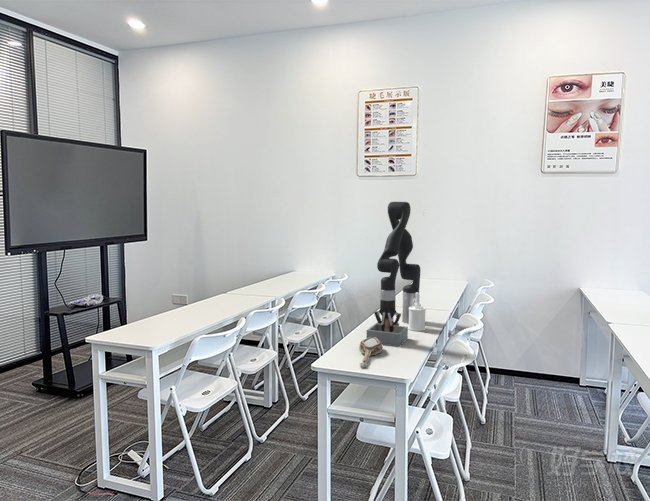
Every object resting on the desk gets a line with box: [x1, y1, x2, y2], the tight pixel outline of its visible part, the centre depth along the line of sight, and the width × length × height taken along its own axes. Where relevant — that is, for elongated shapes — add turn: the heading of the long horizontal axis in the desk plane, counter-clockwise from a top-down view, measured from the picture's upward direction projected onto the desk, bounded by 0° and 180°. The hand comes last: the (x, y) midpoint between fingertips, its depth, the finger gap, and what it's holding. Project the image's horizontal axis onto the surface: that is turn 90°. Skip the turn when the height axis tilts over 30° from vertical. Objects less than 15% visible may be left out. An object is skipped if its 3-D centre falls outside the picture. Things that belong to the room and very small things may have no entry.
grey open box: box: [366, 322, 409, 347], centre depth 241 cm, size 14×17×6 cm
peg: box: [384, 318, 390, 332], centre depth 240 cm, size 3×3×10 cm
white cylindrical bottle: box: [407, 292, 427, 332], centre depth 261 cm, size 10×9×20 cm
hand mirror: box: [358, 337, 384, 369], centre depth 216 cm, size 11×6×30 cm
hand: (387, 332), depth 241 cm, fingers closed on peg, 3 cm apart
